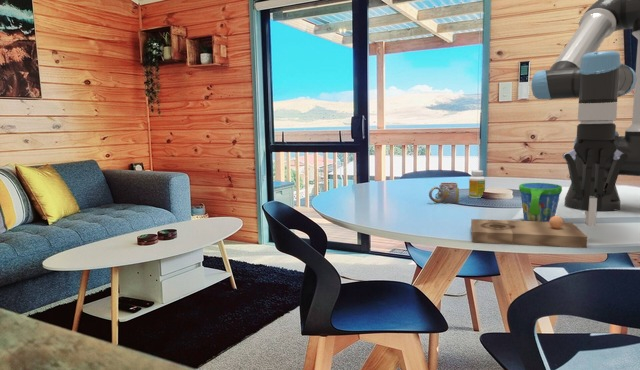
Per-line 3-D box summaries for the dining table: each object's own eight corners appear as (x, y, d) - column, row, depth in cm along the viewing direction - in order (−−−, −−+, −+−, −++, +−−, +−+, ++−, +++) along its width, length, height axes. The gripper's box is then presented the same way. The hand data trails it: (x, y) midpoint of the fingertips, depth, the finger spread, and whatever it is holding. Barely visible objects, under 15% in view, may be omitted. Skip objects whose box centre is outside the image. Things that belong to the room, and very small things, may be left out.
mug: (450, 199, 164) (450, 181, 163) (463, 202, 158) (463, 183, 157) (422, 202, 159) (422, 183, 159) (434, 205, 153) (434, 186, 152)
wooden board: (572, 232, 115) (572, 222, 114) (586, 247, 102) (587, 236, 101) (471, 228, 122) (471, 218, 121) (472, 242, 108) (472, 231, 108)
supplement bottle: (478, 199, 163) (479, 172, 161) (465, 197, 167) (466, 170, 165) (487, 197, 166) (488, 170, 164) (474, 195, 170) (475, 169, 169)
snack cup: (552, 230, 118) (553, 190, 116) (509, 224, 124) (510, 187, 123) (566, 218, 129) (568, 183, 128) (527, 214, 136) (528, 180, 135)
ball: (561, 227, 110) (562, 214, 110) (564, 230, 107) (564, 217, 107) (547, 226, 111) (548, 214, 111) (550, 229, 108) (550, 217, 108)
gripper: (623, 121, 105) (616, 222, 109) (560, 122, 109) (556, 220, 112) (635, 122, 98) (628, 229, 102) (568, 123, 102) (562, 227, 105)
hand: (590, 224), depth 107 cm, fingers closed
